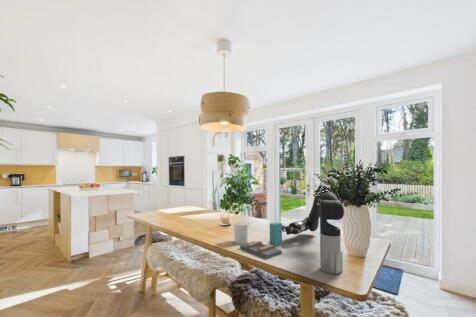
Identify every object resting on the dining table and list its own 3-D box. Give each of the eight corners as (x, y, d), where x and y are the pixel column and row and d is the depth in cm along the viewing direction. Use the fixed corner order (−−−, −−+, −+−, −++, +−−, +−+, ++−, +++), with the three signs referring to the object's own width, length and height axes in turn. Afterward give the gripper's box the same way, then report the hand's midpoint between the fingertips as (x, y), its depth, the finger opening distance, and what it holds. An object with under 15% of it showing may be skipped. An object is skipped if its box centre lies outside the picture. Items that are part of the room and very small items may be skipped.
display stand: (281, 253, 139) (281, 247, 139) (267, 259, 131) (267, 252, 131) (254, 244, 156) (254, 238, 156) (240, 248, 148) (240, 242, 148)
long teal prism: (281, 245, 153) (281, 223, 153) (275, 247, 149) (275, 224, 149) (276, 244, 156) (276, 221, 157) (269, 246, 152) (269, 223, 152)
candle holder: (231, 240, 163) (231, 222, 164) (245, 238, 167) (245, 221, 167) (236, 244, 154) (236, 225, 154) (251, 243, 158) (251, 224, 158)
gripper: (288, 220, 172) (273, 223, 162) (305, 223, 161) (290, 227, 151) (288, 231, 172) (273, 235, 161) (305, 235, 161) (290, 240, 151)
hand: (281, 231), depth 156 cm, fingers open, 8 cm apart
